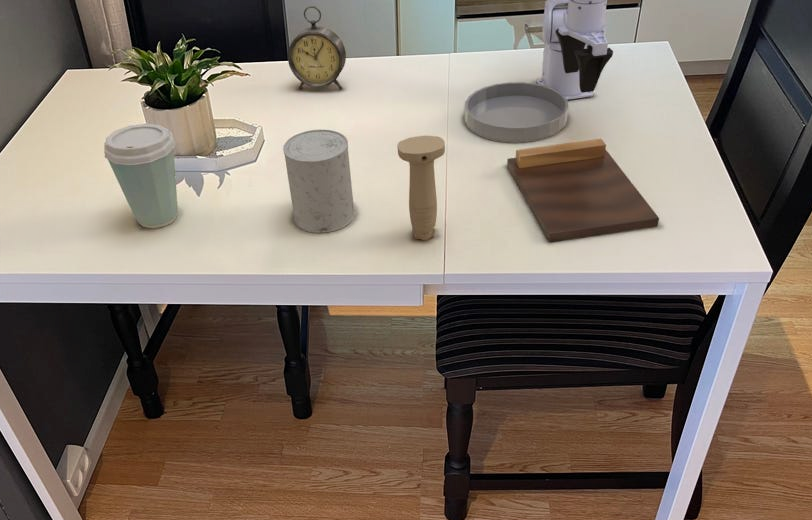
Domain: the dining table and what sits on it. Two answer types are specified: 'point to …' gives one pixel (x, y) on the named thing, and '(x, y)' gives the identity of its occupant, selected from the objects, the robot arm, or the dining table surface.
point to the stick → (560, 153)
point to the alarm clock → (316, 55)
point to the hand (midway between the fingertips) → (579, 81)
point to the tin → (516, 112)
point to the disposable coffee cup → (145, 171)
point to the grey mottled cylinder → (319, 180)
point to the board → (582, 198)
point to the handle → (422, 181)
